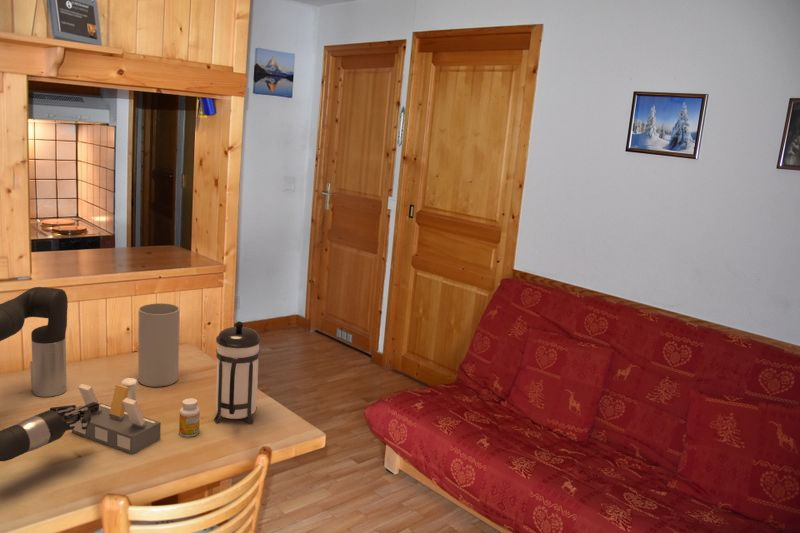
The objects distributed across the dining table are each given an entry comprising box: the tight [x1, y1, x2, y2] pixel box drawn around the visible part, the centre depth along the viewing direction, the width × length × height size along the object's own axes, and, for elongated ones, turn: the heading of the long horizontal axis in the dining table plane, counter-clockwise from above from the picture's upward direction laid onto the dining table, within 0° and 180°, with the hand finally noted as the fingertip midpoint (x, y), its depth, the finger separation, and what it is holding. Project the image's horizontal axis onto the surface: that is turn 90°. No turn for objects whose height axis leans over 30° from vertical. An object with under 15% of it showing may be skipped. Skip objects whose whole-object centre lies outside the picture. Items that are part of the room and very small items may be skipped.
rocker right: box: [122, 398, 146, 428], centre depth 174 cm, size 4×1×9 cm, turn 67°
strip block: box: [71, 402, 162, 455], centre depth 180 cm, size 22×10×5 cm, turn 67°
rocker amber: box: [109, 384, 129, 420], centre depth 180 cm, size 4×1×9 cm, turn 67°
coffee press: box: [213, 321, 262, 425], centre depth 194 cm, size 17×16×30 cm
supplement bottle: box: [178, 397, 201, 438], centre depth 185 cm, size 5×5×10 cm
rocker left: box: [77, 383, 102, 413], centre depth 180 cm, size 4×1×9 cm, turn 67°
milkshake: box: [120, 377, 139, 401], centre depth 197 cm, size 4×5×10 cm
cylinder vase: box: [137, 302, 180, 388], centre depth 216 cm, size 12×12×25 cm
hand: (97, 406), depth 172 cm, fingers closed
